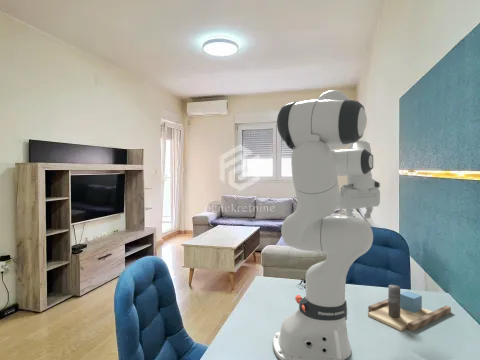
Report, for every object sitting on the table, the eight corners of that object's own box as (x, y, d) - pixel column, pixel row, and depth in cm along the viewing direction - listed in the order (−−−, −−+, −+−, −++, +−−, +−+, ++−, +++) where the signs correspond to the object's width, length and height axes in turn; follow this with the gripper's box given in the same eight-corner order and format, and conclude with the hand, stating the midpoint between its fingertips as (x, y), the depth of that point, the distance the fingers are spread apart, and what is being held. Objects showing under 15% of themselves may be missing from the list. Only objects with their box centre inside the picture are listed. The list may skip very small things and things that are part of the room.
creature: (294, 287, 137) (302, 289, 129) (292, 275, 138) (300, 276, 130) (309, 285, 139) (318, 287, 132) (307, 273, 140) (316, 274, 133)
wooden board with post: (401, 331, 94) (401, 296, 94) (367, 315, 104) (367, 284, 104) (434, 315, 104) (434, 284, 104) (401, 302, 114) (400, 274, 114)
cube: (413, 312, 104) (413, 298, 103) (400, 307, 108) (400, 293, 108) (421, 309, 106) (421, 295, 106) (407, 304, 110) (407, 291, 110)
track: (413, 334, 94) (413, 325, 94) (368, 313, 107) (368, 306, 107) (450, 314, 106) (450, 307, 106) (406, 299, 120) (406, 292, 119)
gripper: (348, 184, 107) (348, 223, 107) (383, 183, 117) (383, 218, 117) (334, 184, 112) (334, 220, 112) (368, 182, 122) (369, 216, 123)
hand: (359, 219), depth 115 cm, fingers open, 8 cm apart
